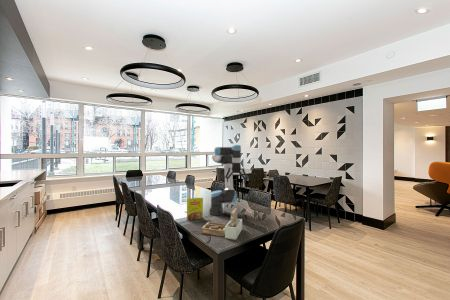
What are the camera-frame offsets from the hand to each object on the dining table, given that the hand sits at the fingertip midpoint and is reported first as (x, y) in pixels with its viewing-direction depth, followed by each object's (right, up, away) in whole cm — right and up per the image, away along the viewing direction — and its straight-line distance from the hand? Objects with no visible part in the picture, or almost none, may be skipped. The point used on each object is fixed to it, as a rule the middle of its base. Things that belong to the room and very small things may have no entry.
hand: (236, 186), depth 188 cm
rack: (-18, -35, -12) cm, 41 cm away
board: (-3, -34, -17) cm, 38 cm away
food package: (-39, -34, +17) cm, 55 cm away
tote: (-3, -35, -17) cm, 39 cm away
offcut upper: (-18, -33, -13) cm, 40 cm away
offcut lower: (-18, -36, -13) cm, 42 cm away
